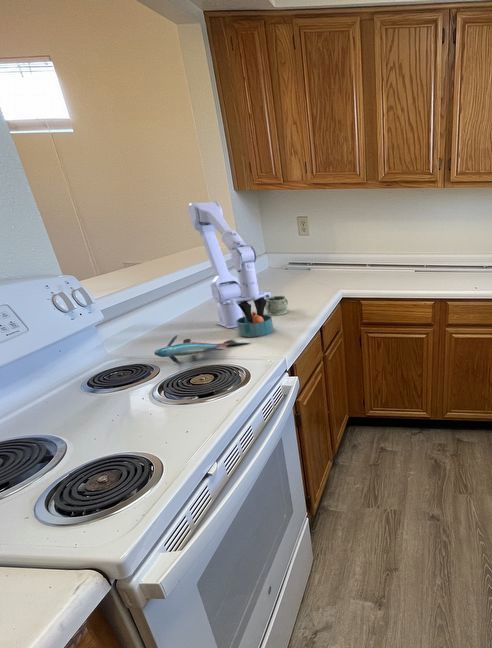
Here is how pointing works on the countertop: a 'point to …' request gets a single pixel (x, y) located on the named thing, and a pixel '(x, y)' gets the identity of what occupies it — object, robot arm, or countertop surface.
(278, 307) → the vessel
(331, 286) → the countertop surface
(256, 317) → the toy fish
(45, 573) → the countertop surface
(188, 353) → the fish
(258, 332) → the teal pet bowl
